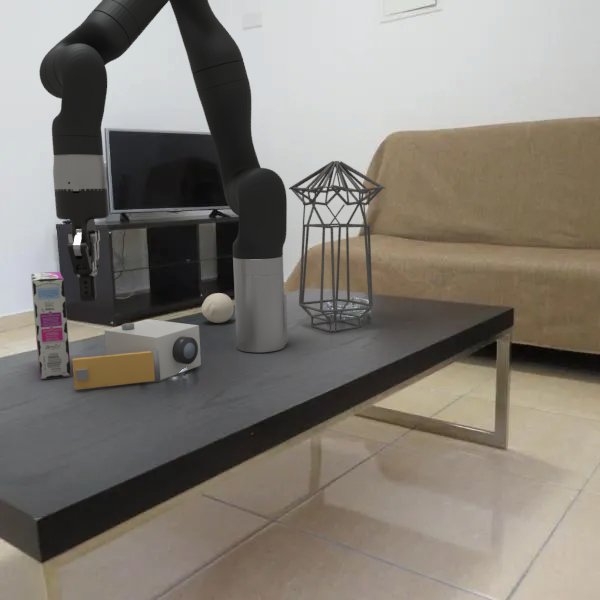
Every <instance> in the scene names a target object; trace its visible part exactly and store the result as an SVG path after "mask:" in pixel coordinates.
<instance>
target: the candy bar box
mask: <svg viewBox="0 0 600 600" xmlns="http://www.w3.org/2000/svg"><path fill="white" fill-rule="evenodd" d="M30 278H31V289H32V291H31V292H32V303H33V304H32V305H33V314H34V315H33V316H34V328H35V339H36V350H37V351H36V352H37V360H38V361H37V362H38V369H39V377H40V380H52V379H59V378H69V377H70V376H72V373H71V359H70V342H69V331H68V317H67V316H68V315H67V314H68V313H67V303H66V302H67V301H66V292H65V290H66V289H65V279H64V277H63V276H62V274H61V272H60V271H49V272H33V273H31V277H30Z"/></svg>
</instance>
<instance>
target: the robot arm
mask: <svg viewBox="0 0 600 600" xmlns="http://www.w3.org/2000/svg"><path fill="white" fill-rule="evenodd" d="M168 2H169V3H170V6H171V9H172V11H173V14H174V17H175V21H176V23H177V25H178V26H177V27H178V30H179V33H180V37H181V40H182V43H183V46H184V49H185V52H186V55H187V59H188V63H189V67H190V72H191V75H192V78H193V81H194V85H195V89H196V92H197V95H198V99H199V101H200V104H201V107H202V109H203V113H204V116H205V120H206V123H207V124H206V125H207V127H208V130H209V133H210V136H211V139H212V142H213V145H214V149H215V153H216V157H217V160H218V161H217V162H218V168H219V172H220V177H221V184H222V188H223V194H224V198H225V200H226V204H227V205H228V208H229V209H230V211H232V213H233V214H235V215H236V216H238V233H237V237H236V238H235V240H234V242H233V243H232V260H233V261H232V262H233V263H232V264H233V283H234V287H233V288H234V290H233V291H234V310H235V311H234V312H235V313H234V314H235V335H236V336H235V337H236V349H238V351H241V352H247V353H269V352H276V351H280V350H282V349H284V348H286V345H287V344H288V341H289V340H288V317H287V316H288V312H287V311H288V310H287V307H288V306H287V305H288V304H287V295H286V294H285V281H284V245H285V243H286V239H287V229H288V227H287V226H288V225H287V223H288V221H287V220H288V219H287V218H288V216H287V214H288V213H287V211H288V204H287V203H288V202H287V201H288V200H287V191H286V187H285V182H284V181H283V179H282V177H281V176H280V174H278V173H277V172H276V171H274V170H273V169H269V168H268V167H267V168H266V167H261V165H260V162H259V160H258V156H257V153H256V150H255V146H254V143H253V142H254V141H253V136H252V89H251V85H250V80H249V77H248V73H247V69H246V66H245V63H244V62H245V61H244V57H243V55H242V52H241V50H240V47H239V45H238V43H236V41H235V39H234V38H233V36H232V35H231V34H230V33H229V32H228V30H227V29H226V28H225V26H224V25H223V24H222V22H220V20H219V19H218V17H217V16H216V15H215V13H214V11H213V10H212V8H211V6H210V2H209V0H101V1H100V2H99V3H98V5H97V6H95V8H94V9H93V10H92V11H90V13H89V14H88V15H87V17H86V18H85V19H84V20H83V22H82V23H81V24H80V25H79V26H77V27H76V28H74V29H73V30H72V31H71V32H69V33H68V34H67V35H66V36H65V37H63V38H62V39H61V40H59V41H58V42H57V43H56V44H55V45H54V46H53V47H52V48H51V49H50V50H49V51H48V52H46V54H45V56H43V58H42V60H41V63H40V66H39V80H40V83H41V85H42V87H43V88H44V90H46V92H47V93H48V94H50V95H51V96H53V97H55V98H57V99H61V103H60V104H61V105H60V111H59V113H58V114H57V115H56V116H55V117H54V118H53V119H52V123H51V136H52V137H51V138H52V151H53V153H52V154H53V167H52V168H53V169H52V177H53V187H54V188H53V189H54V201H55V202H54V203H55V214H56V217H57V219H59V220H67V221H68V220H70V221H71V223H70V224H71V229H70V230H71V231H69V232H68V233H67V234H68V236H67V237H68V243H67V247H66V248H67V251H68V254H69V257H70V262H71V266H72V269H73V270H72V271H73V274H74V276H75V275H76V276H77V278H78V283H79V285H78V286H79V298H80V301H82V302H94V301H95V300H97V298H98V291H97V278H96V276H97V274H98V270H99V268H100V263H99V261H100V249H101V248H100V247H101V238H100V236H101V235H100V230H97V229H96V222H95V220H97V219H98V220H100V219H107V218H108V217H109V214H110V213H109V200H108V183H107V170H106V165H105V160H104V150H103V148H104V147H103V133H102V124H103V123H102V122H103V119H104V113H105V108H106V102H107V101H106V99H107V94H108V93H107V92H108V73H107V68H106V66H107V64H109V63H110V62H112V61H114V60H117V59H119V58H120V57H121V56H123V55H124V54H125V53H126V52H127V50H128V49H130V48H131V46H132V45H133V44H134V42H135V41H137V39H138V38H139V37H140V36H141V35H142V33H143V32H144V31H145V30H146V28H148V26H149V25H150V23H152V21H153V20H154V19H155V18H156V17H157V15H158V14H159V13H160V12H161V10H162V9H164V7H165V6H166V5H167V4H168Z"/></svg>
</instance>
